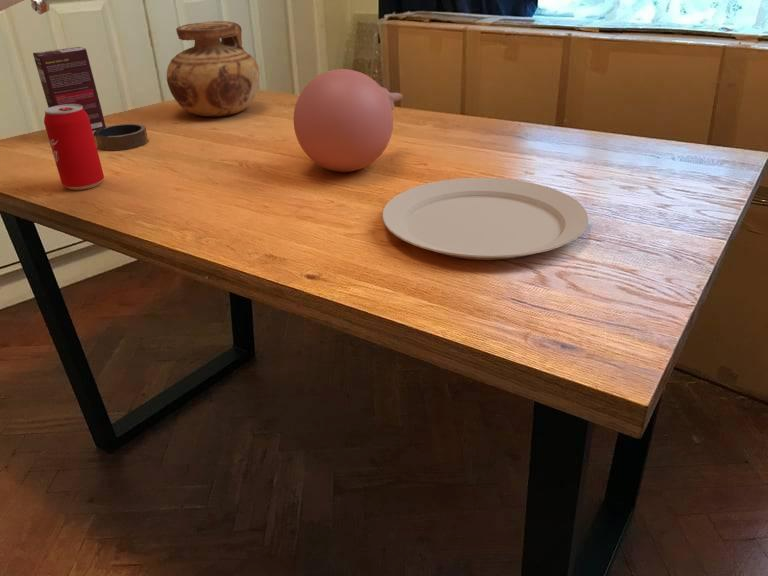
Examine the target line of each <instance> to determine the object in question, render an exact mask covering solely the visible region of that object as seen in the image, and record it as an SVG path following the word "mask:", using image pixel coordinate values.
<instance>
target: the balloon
mask: <svg viewBox="0 0 768 576" xmlns="http://www.w3.org/2000/svg"><path fill="white" fill-rule="evenodd" d="M403 97H404V96H403V94H402V93H400V92H396V91H395V92H389V90H388V89H387V88H386V87H384V86H381V85H380V84H379V83H378V82H376V80H374V79H373V78H372V77H370V76H369V75H367V74H365V73H362V72H360V71H358V70H354V69H349V68H348V69H347V68H338V69H331V70H328V71H325V72H323V73H320V74H319V75H317V76H316V77H314V78H313V79H312V80H310V81H309V82H308V83H307V84H306V85H305V87H303V89H302V90H301V92H300V94H299V96H298V97H297V99H296V103H295V105H294V112H293V129H294V133H295V136H296V140H297V142H298V144H299V146H300V147H301V149H302V151H303V152H304V154H306V156H307V157H308V158H309V159H311V160H312V161H313V162H314V163H315V164H317V165H318V166H320V167H322V168H324V169H327V170H330V171H333V172H340V173H346V172H347V173H348V172H354V171H355V172H356V171H359V170H361V169H364V168H366V167H369V166H370V165H371V164H373V163H374V162H375V161H376V160H378V158H380V157H381V155H382V154H383V153H384V152H385V151H386V148H387V147H388V145H389V143H390V141H391V138H392V134H393V130H394V113H393V110H394V109H395V103H396V102H398V101H402V100H403Z"/></svg>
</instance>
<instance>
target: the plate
mask: <svg viewBox="0 0 768 576" xmlns="http://www.w3.org/2000/svg"><path fill="white" fill-rule="evenodd" d="M589 220H590V219H589V216H588V212H587V210H586V209H585V207H584V206H583V205H582V203H580V202H579V201H578V200H576V199H575V198H573V196H570V195H569V194H566V193H565V192H563V191H560V190H558V189H555V188H552V187H549V186H546V185H542V184H538V183H534V182H529V181H524V180H518V179H511V178H510V179H509V178H500V177H499V178H497V177H463V178H460V177H459V178H450V179H442V180H438V181H431V182H429V183H424V184H421V185H417V186H413V187H411V188H409V189H406V190H403V192H400V193H399V194H396V195H395V196H394V197H392V198H391V199H390V200H388V202H387V203H386V204H385V206H384V208H383V211H382V222H383V225H384V226H385V228H386V229H387V230H388V231H389V232H390V233H392V235H394V236H395V237H397V238H398V239H400V240H402V241H404V242H406V243H408V244H410V245H413V246H414V247H418V248H421V249H425V250H428V251H432V252H434V253H437V254H441V255H445V256H448V257H452V258H459V259H465V260H476V261H477V260H478V261H499V260H509V259H516V258H522V257H526V256H531V255H534V254H539V253H544V252H549V251H552V250H556V249H557V248H561V247H563V246H566V245H567V244H570V243H571V242H573V241H575V240H576V239H578V238H579V237H580V236H582V235H583V234H584V232H586V229H587V227H588V225H589Z"/></svg>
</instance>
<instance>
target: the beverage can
mask: <svg viewBox="0 0 768 576" xmlns="http://www.w3.org/2000/svg"><path fill="white" fill-rule="evenodd" d="M43 125H44V127H45V131H46V134H47V138H48V141H49V145H50V148H51V153H52V155H53V157H54V162H55V166H56V169H57V173H58V175H59V179H60V182H61V186H63V187H65V188H67V189H69V190H73V191H82V190H83V191H84V190H88V189H92V188H95V187H97V186H99V185H100V184H101V183H102V181H103V180H104V179H105V175H104V172H103V171H104V169H103V167H102V162H101V159H100V154H99V151H98V148H97V146H96V143H95V139H94V135H93V131H92V127H91V124H90V120H89V116H88V114H87V113H86V112H85V110H84V109H83V107H82V105H80V104H64V105H58V106H53V107H50V108H48V107H47V108H45V109H44V118H43Z"/></svg>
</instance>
